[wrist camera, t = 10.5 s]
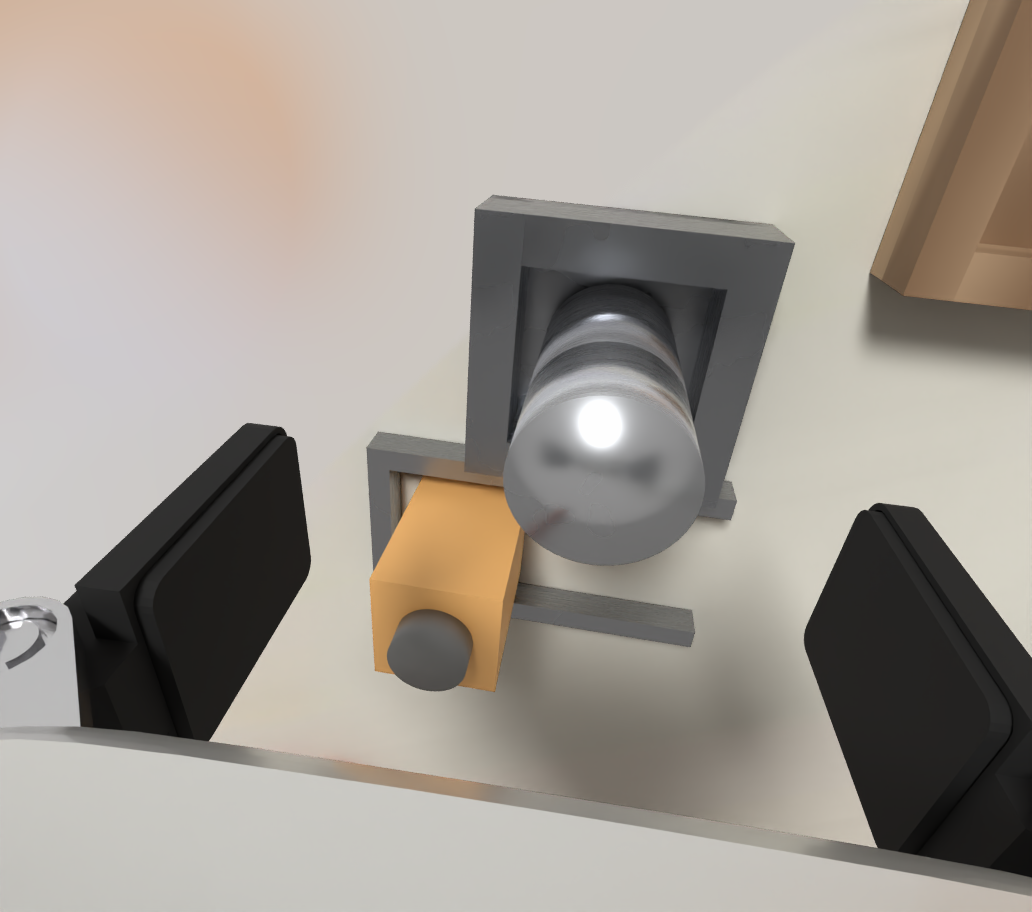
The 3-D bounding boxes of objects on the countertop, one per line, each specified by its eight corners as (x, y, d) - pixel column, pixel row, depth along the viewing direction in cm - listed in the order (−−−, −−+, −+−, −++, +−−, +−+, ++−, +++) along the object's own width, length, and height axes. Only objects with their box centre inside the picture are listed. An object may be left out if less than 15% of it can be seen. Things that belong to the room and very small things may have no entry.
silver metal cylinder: (687, 292, 18) (728, 412, 11) (660, 414, 20) (680, 578, 13) (551, 276, 18) (510, 383, 11) (538, 398, 20) (497, 550, 14)
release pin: (529, 488, 23) (497, 626, 17) (520, 570, 25) (489, 718, 19) (424, 473, 23) (357, 603, 17) (424, 554, 25) (364, 696, 19)
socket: (772, 224, 17) (795, 243, 15) (705, 465, 21) (715, 508, 19) (493, 194, 18) (474, 208, 16) (480, 434, 22) (464, 471, 20)
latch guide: (731, 481, 22) (736, 500, 21) (687, 624, 25) (690, 647, 24) (378, 431, 23) (366, 447, 22) (384, 575, 26) (374, 595, 25)
